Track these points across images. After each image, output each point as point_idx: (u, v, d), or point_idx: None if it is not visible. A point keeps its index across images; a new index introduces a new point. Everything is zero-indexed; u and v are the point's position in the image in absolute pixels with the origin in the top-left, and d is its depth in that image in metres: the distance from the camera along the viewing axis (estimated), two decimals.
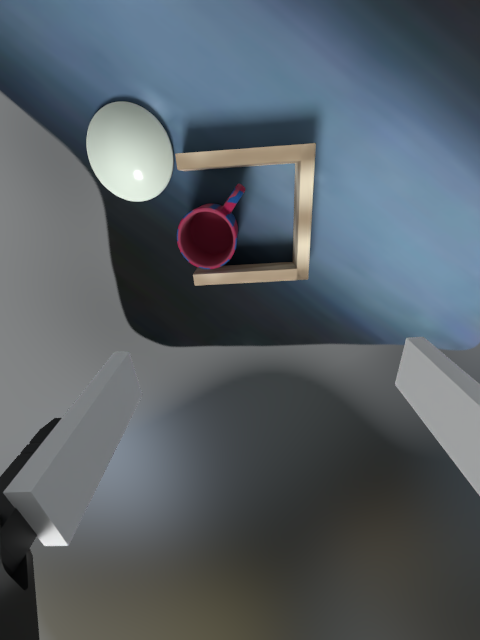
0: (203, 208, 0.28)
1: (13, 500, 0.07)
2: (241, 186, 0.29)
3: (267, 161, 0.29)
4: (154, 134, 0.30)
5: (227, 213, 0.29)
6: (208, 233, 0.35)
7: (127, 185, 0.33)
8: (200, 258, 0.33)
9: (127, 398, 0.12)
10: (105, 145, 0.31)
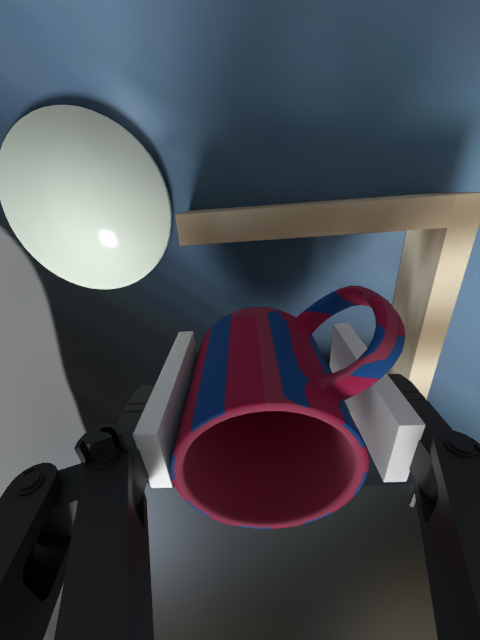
0: (266, 405, 0.08)
1: (139, 442, 0.08)
2: (393, 312, 0.08)
3: (374, 229, 0.13)
4: (133, 170, 0.15)
5: (341, 399, 0.09)
6: None
7: (84, 263, 0.17)
8: (235, 464, 0.12)
9: None
10: (36, 191, 0.15)
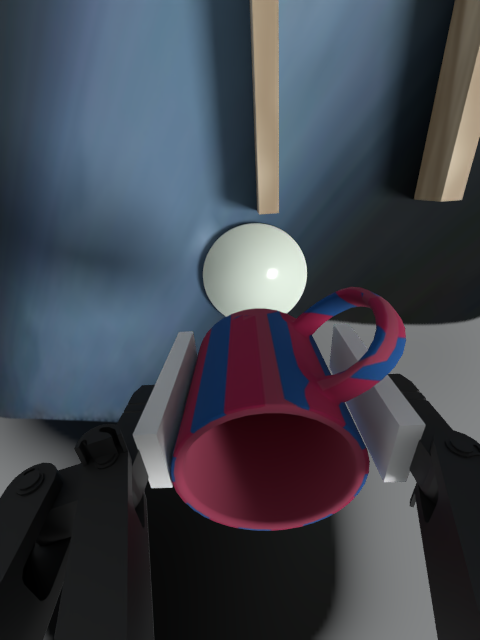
0: (266, 407, 0.08)
1: (138, 442, 0.08)
2: (394, 313, 0.08)
3: (275, 35, 0.16)
4: (233, 244, 0.24)
5: (341, 401, 0.08)
6: None
7: (287, 287, 0.26)
8: (235, 466, 0.12)
9: None
10: (244, 303, 0.27)
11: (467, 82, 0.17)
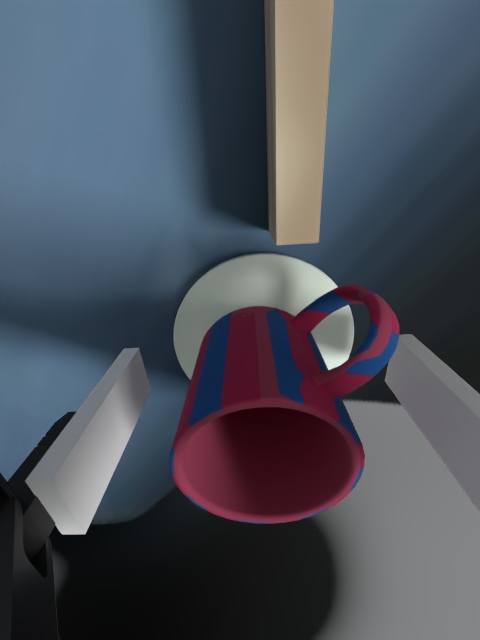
0: (262, 401, 0.08)
1: (34, 488, 0.07)
2: (388, 310, 0.08)
3: None
4: (225, 291, 0.13)
5: (336, 396, 0.09)
6: None
7: None
8: (235, 460, 0.12)
9: (137, 393, 0.12)
10: None
11: None
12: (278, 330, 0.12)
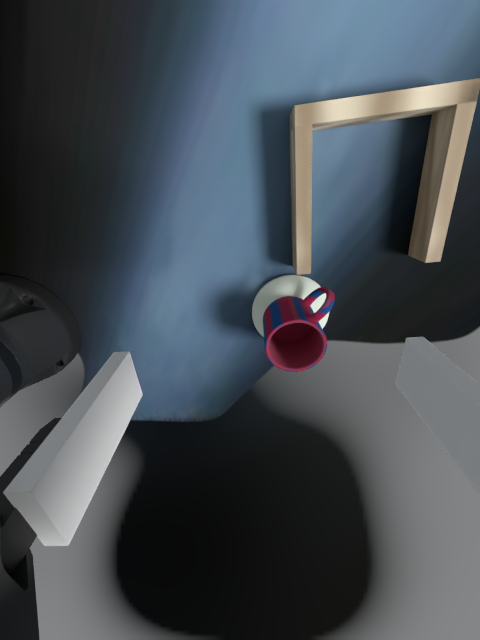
0: (295, 320, 0.27)
1: (13, 500, 0.07)
2: (331, 294, 0.28)
3: (310, 171, 0.25)
4: (275, 290, 0.33)
5: (317, 321, 0.28)
6: None
7: None
8: (282, 355, 0.32)
9: (127, 398, 0.12)
10: None
11: (438, 190, 0.25)
12: (297, 304, 0.31)
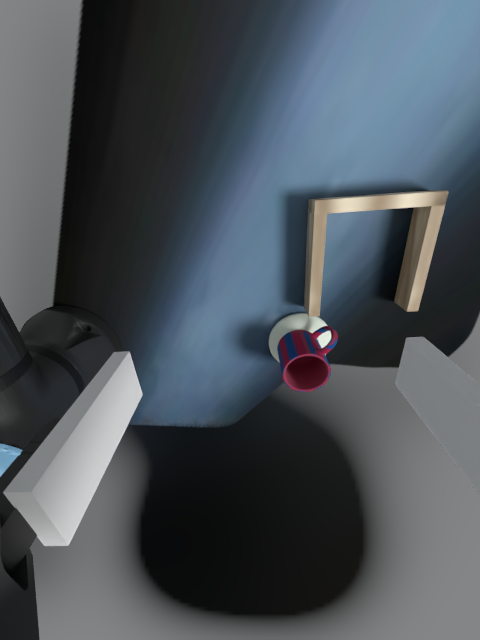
0: (307, 354, 0.36)
1: (13, 500, 0.07)
2: (335, 334, 0.36)
3: (323, 244, 0.33)
4: (289, 324, 0.41)
5: (323, 354, 0.36)
6: None
7: None
8: (293, 378, 0.40)
9: (127, 398, 0.12)
10: None
11: (417, 261, 0.34)
12: (307, 338, 0.39)
